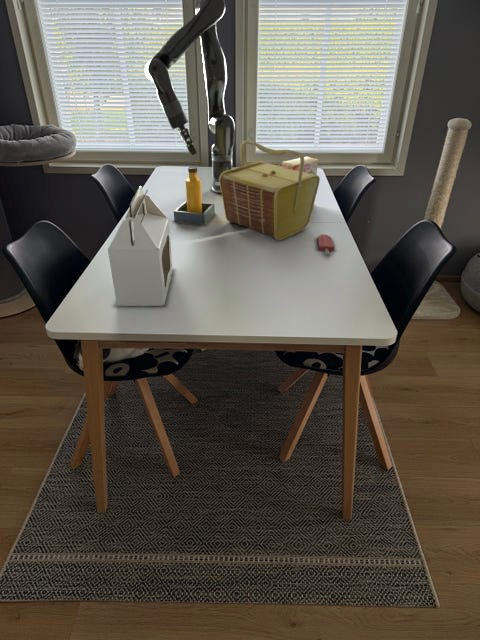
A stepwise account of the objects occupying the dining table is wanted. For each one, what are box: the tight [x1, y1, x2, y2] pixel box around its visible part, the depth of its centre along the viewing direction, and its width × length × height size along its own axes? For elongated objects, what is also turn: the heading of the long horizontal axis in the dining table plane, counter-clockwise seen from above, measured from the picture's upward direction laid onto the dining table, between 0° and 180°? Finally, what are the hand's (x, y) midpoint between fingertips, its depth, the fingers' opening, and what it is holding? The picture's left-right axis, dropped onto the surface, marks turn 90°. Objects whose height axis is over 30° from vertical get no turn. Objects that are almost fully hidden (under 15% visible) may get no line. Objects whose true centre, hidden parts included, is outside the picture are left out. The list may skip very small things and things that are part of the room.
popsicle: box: [316, 234, 335, 255], centre depth 160 cm, size 5×2×15 cm
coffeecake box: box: [281, 156, 319, 175], centre depth 188 cm, size 15×7×20 cm, turn 131°
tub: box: [173, 200, 216, 225], centre depth 180 cm, size 13×13×5 cm
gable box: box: [107, 185, 173, 307], centre depth 127 cm, size 22×13×28 cm, turn 1°
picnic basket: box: [219, 140, 321, 241], centre depth 167 cm, size 29×26×30 cm
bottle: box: [185, 166, 203, 214], centre depth 175 cm, size 6×6×20 cm
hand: (193, 153), depth 187 cm, fingers open, 8 cm apart
